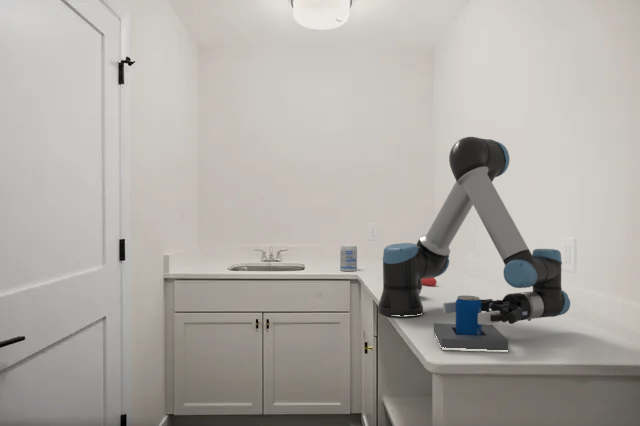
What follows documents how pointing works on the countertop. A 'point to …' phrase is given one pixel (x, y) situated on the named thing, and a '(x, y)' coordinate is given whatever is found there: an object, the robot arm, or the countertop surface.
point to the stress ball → (429, 281)
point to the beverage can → (468, 315)
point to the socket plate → (470, 338)
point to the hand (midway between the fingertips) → (460, 313)
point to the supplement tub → (348, 258)
